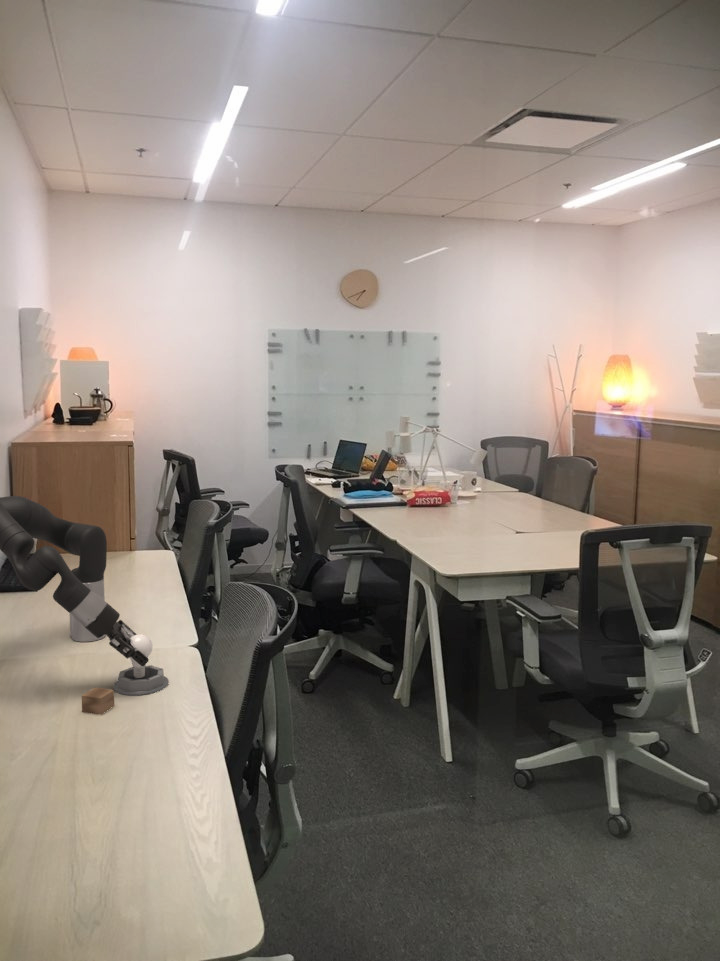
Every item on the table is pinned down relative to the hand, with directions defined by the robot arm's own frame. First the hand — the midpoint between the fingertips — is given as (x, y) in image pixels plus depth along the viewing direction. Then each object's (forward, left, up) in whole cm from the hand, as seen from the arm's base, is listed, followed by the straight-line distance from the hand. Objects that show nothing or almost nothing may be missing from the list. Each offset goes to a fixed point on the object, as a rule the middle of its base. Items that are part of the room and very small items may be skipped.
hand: (146, 658), depth 188 cm
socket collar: (-1, -1, -7) cm, 7 cm away
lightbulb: (-1, -1, -5) cm, 5 cm away
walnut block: (+2, -16, -7) cm, 17 cm away
